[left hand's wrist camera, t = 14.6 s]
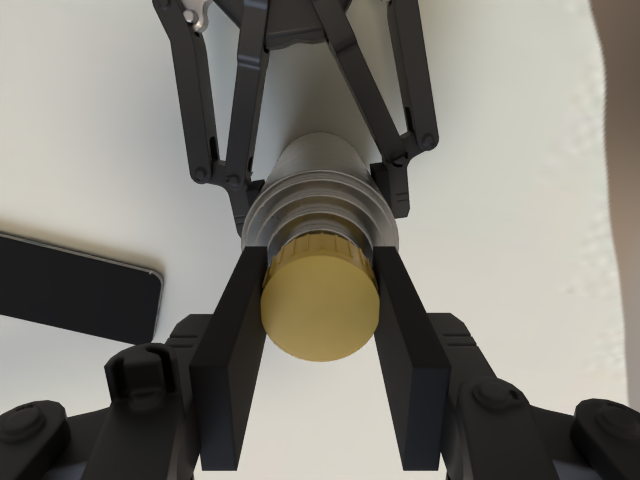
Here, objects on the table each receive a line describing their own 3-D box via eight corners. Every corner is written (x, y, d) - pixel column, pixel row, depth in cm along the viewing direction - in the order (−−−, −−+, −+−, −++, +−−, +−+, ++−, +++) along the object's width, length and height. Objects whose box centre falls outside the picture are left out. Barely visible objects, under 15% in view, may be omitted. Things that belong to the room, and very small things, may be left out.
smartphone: (150, 349, 36) (-30, 308, 35) (153, 344, 37) (-24, 304, 35) (162, 275, 34) (-31, 228, 32) (165, 272, 34) (-25, 225, 33)
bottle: (337, 114, 30) (366, 158, 11) (379, 193, 32) (461, 339, 13) (259, 160, 31) (169, 268, 13) (304, 234, 33) (284, 420, 15)
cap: (340, 210, 14) (343, 230, 12) (393, 300, 15) (404, 330, 13) (243, 265, 14) (233, 291, 12) (302, 347, 15) (299, 381, 14)
